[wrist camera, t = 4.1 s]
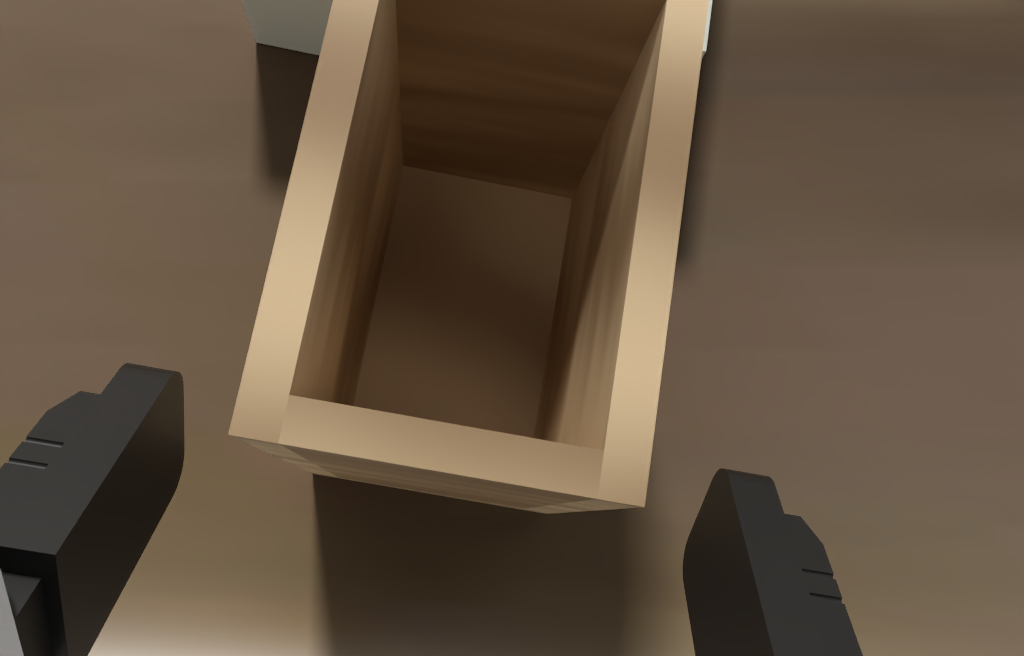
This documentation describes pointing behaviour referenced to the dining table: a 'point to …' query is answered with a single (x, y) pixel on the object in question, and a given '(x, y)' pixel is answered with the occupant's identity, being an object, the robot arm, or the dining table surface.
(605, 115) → the oak crate
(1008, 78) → the dining table surface
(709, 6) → the grey crate
